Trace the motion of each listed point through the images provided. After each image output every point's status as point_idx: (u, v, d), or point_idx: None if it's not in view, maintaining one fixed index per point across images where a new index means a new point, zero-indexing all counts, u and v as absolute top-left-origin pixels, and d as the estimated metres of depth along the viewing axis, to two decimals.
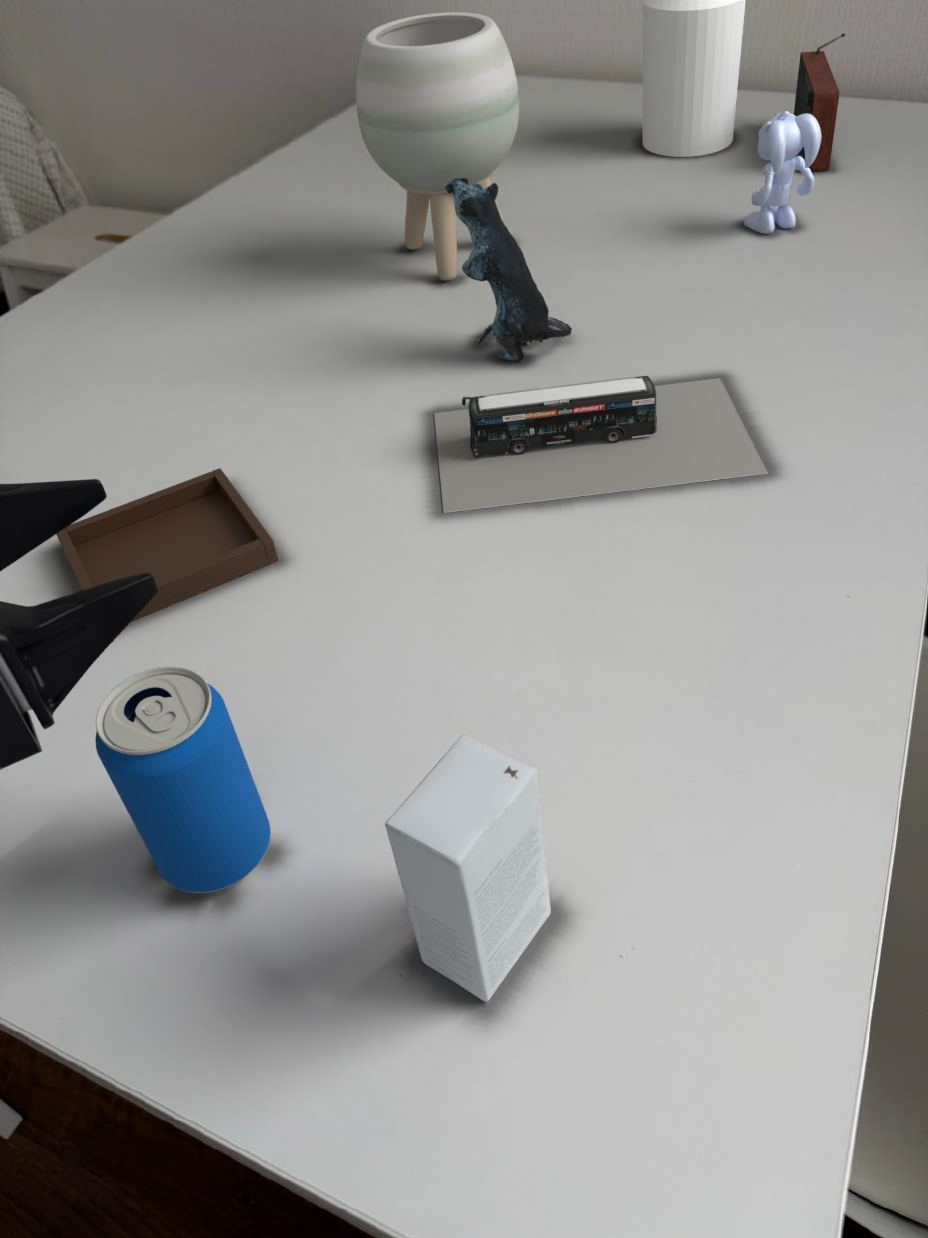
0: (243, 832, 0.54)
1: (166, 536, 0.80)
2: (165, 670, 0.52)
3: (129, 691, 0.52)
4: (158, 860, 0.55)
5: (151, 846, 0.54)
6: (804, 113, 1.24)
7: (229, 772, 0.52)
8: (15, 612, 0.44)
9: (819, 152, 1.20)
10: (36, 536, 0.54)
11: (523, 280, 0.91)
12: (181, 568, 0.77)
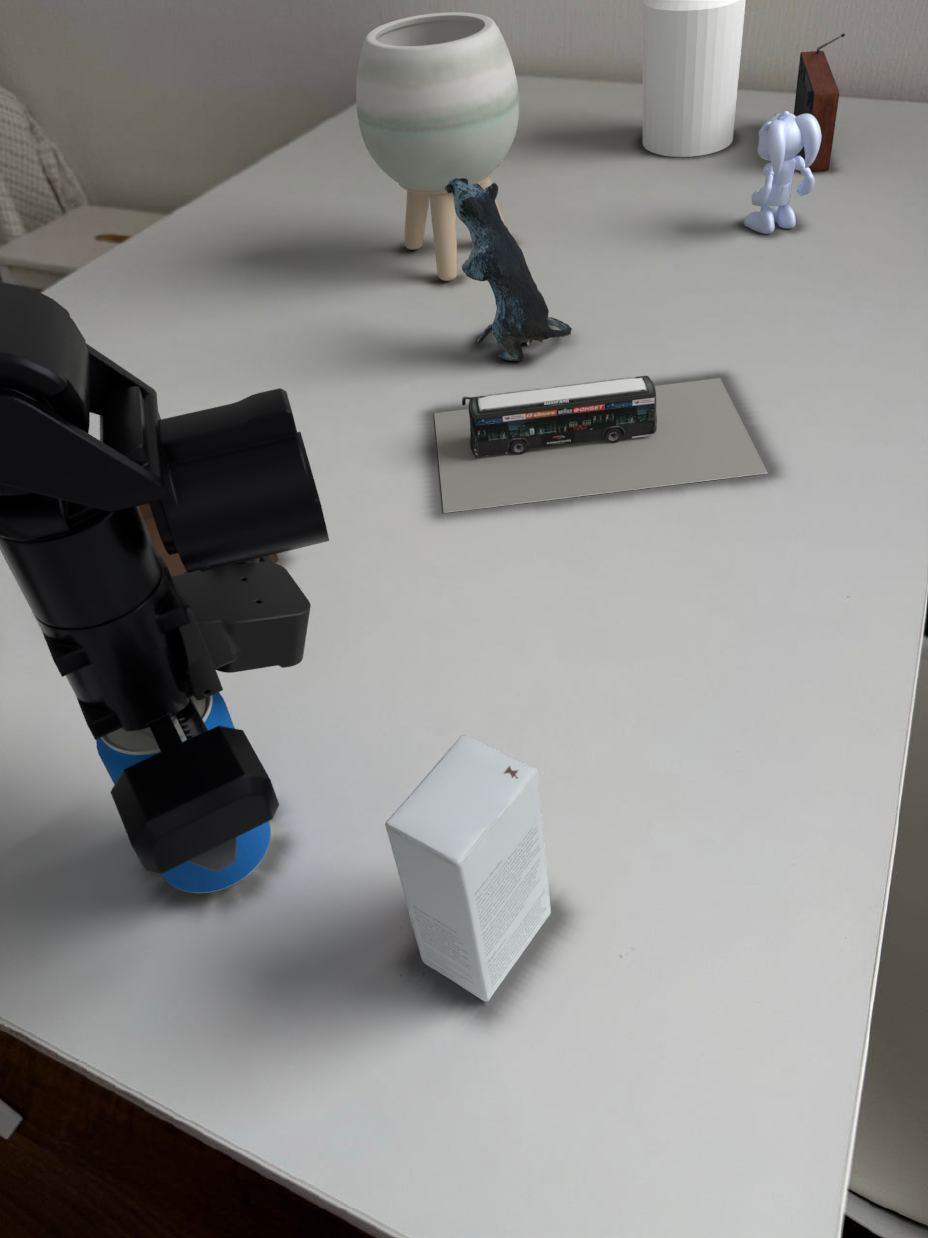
0: None
1: None
2: None
3: None
4: None
5: None
6: (804, 113, 1.24)
7: None
8: None
9: (819, 152, 1.20)
10: None
11: (523, 280, 0.91)
12: (181, 568, 0.77)
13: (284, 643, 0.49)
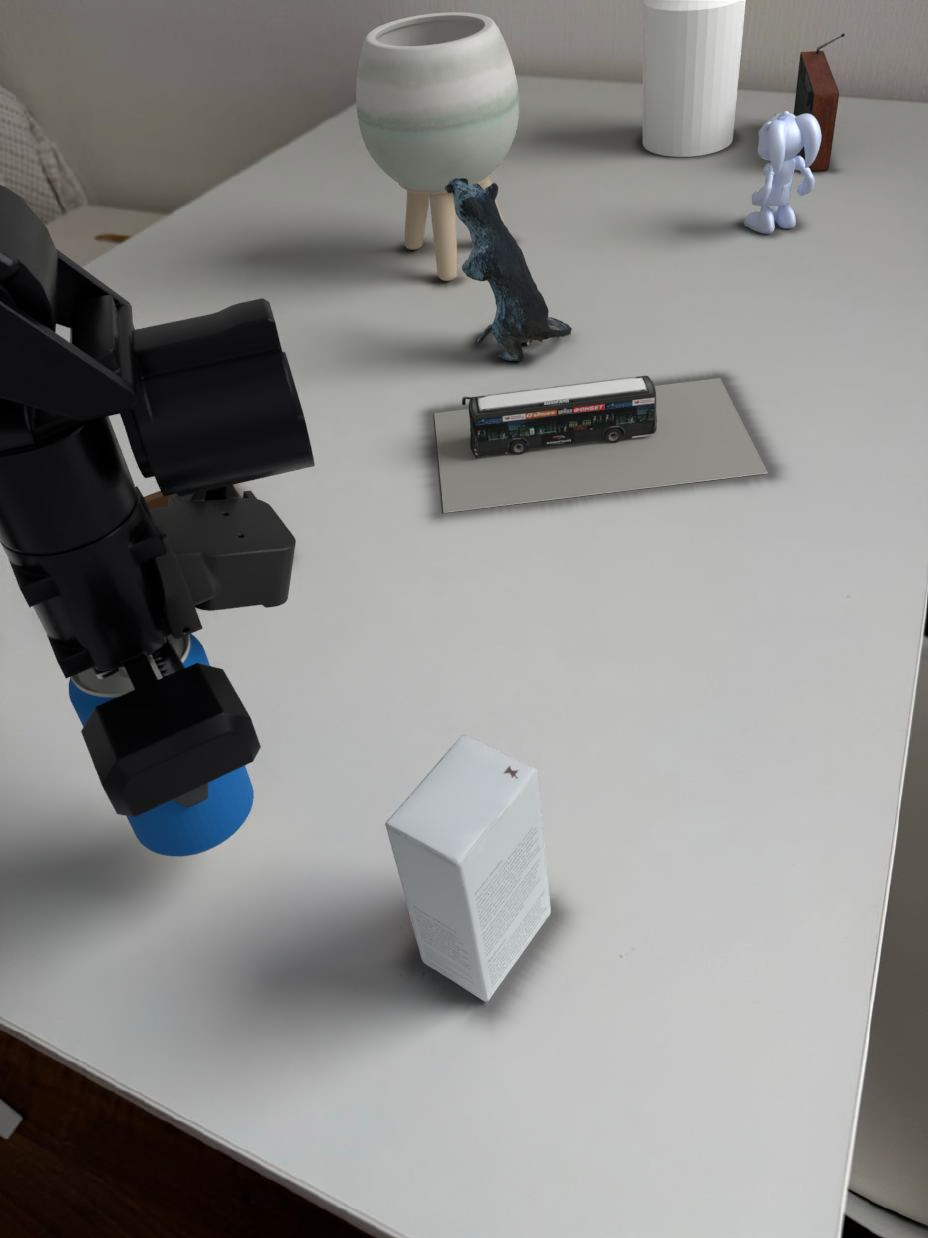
0: (223, 791, 0.52)
1: None
2: None
3: None
4: (134, 820, 0.52)
5: None
6: (804, 113, 1.24)
7: None
8: None
9: (819, 152, 1.20)
10: None
11: (523, 280, 0.91)
12: None
13: (268, 580, 0.46)
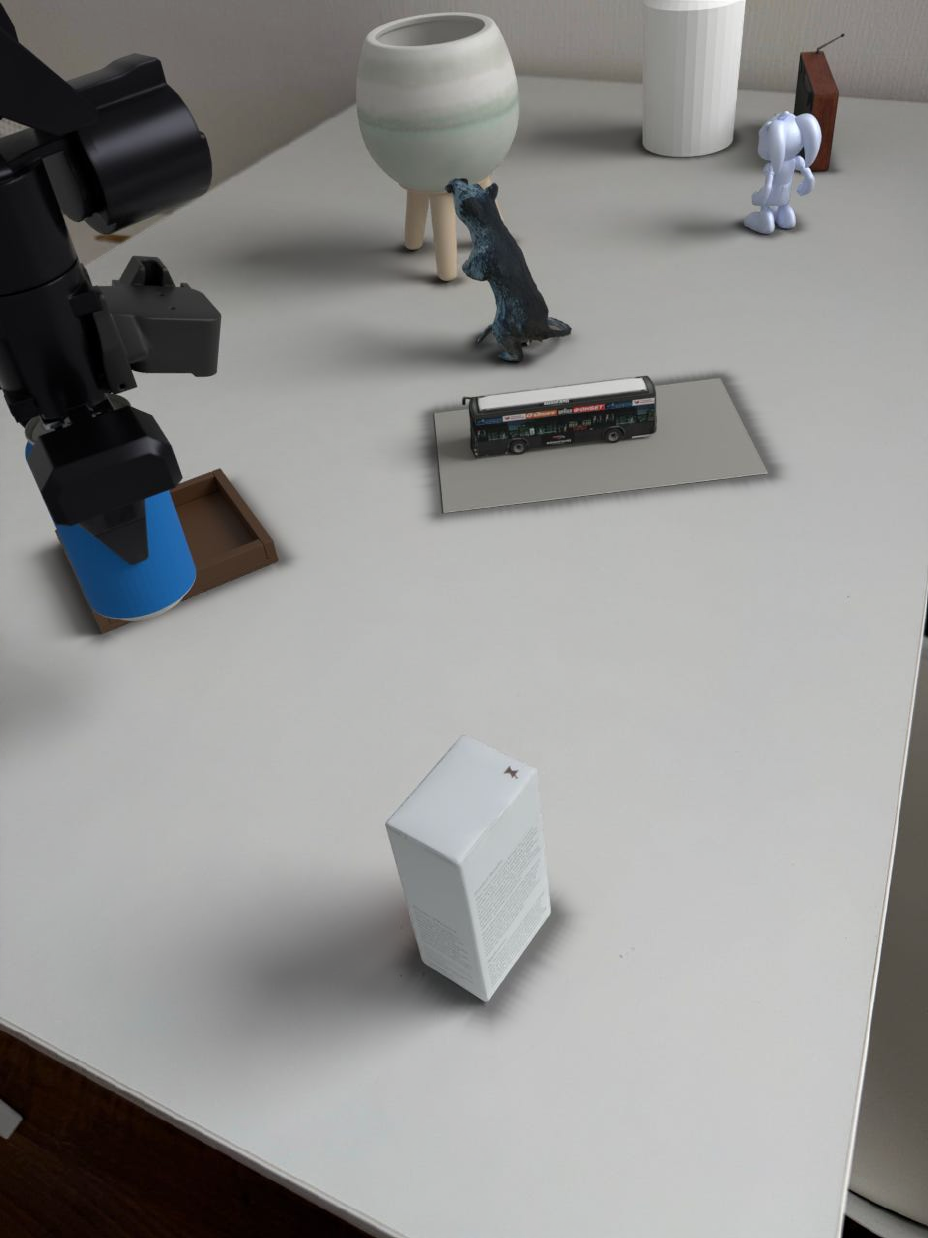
0: (164, 556, 0.58)
1: None
2: None
3: None
4: (86, 582, 0.59)
5: (78, 564, 0.58)
6: (804, 113, 1.24)
7: None
8: None
9: (819, 152, 1.20)
10: None
11: (522, 280, 0.91)
12: None
13: (196, 349, 0.53)
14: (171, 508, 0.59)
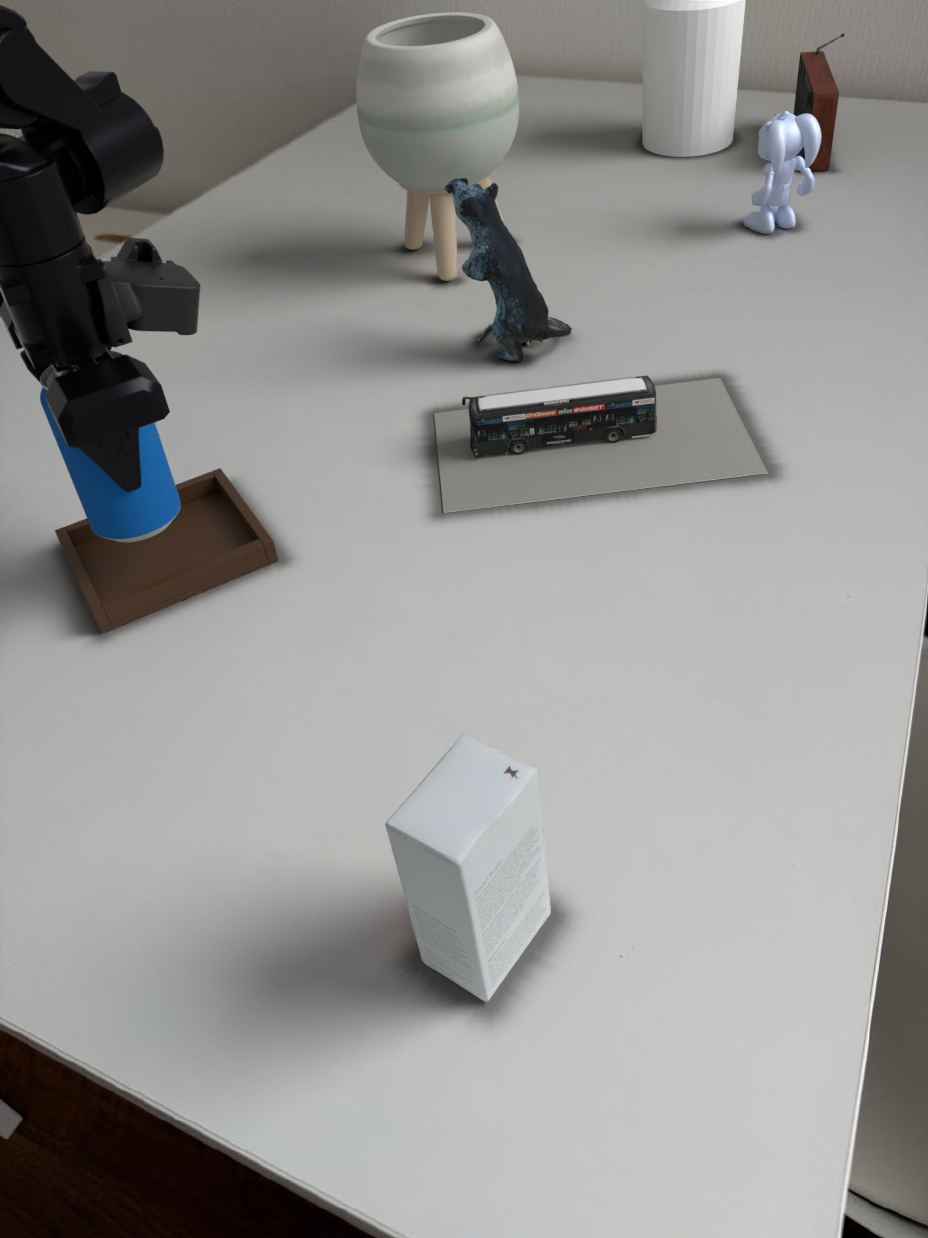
0: (155, 486, 0.71)
1: (166, 536, 0.80)
2: None
3: None
4: (89, 508, 0.71)
5: (83, 492, 0.70)
6: (804, 113, 1.24)
7: None
8: None
9: (819, 152, 1.20)
10: None
11: (522, 280, 0.91)
12: (181, 568, 0.77)
13: (180, 312, 0.65)
14: (160, 446, 0.71)
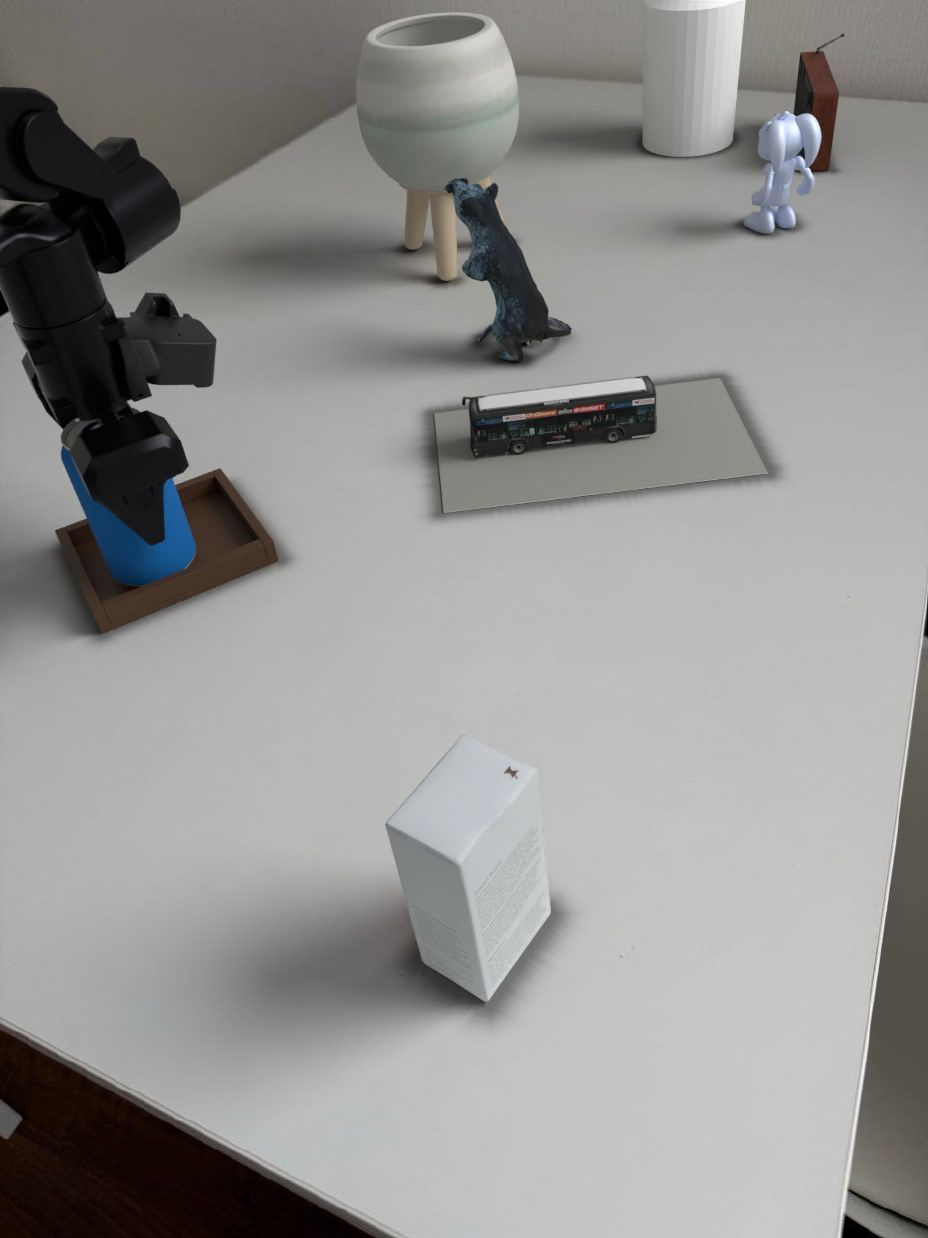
0: (172, 536, 0.73)
1: None
2: None
3: (86, 421, 0.71)
4: (109, 557, 0.74)
5: (103, 543, 0.73)
6: (804, 113, 1.24)
7: None
8: None
9: (819, 152, 1.20)
10: None
11: (522, 280, 0.91)
12: None
13: (197, 366, 0.68)
14: (176, 497, 0.73)
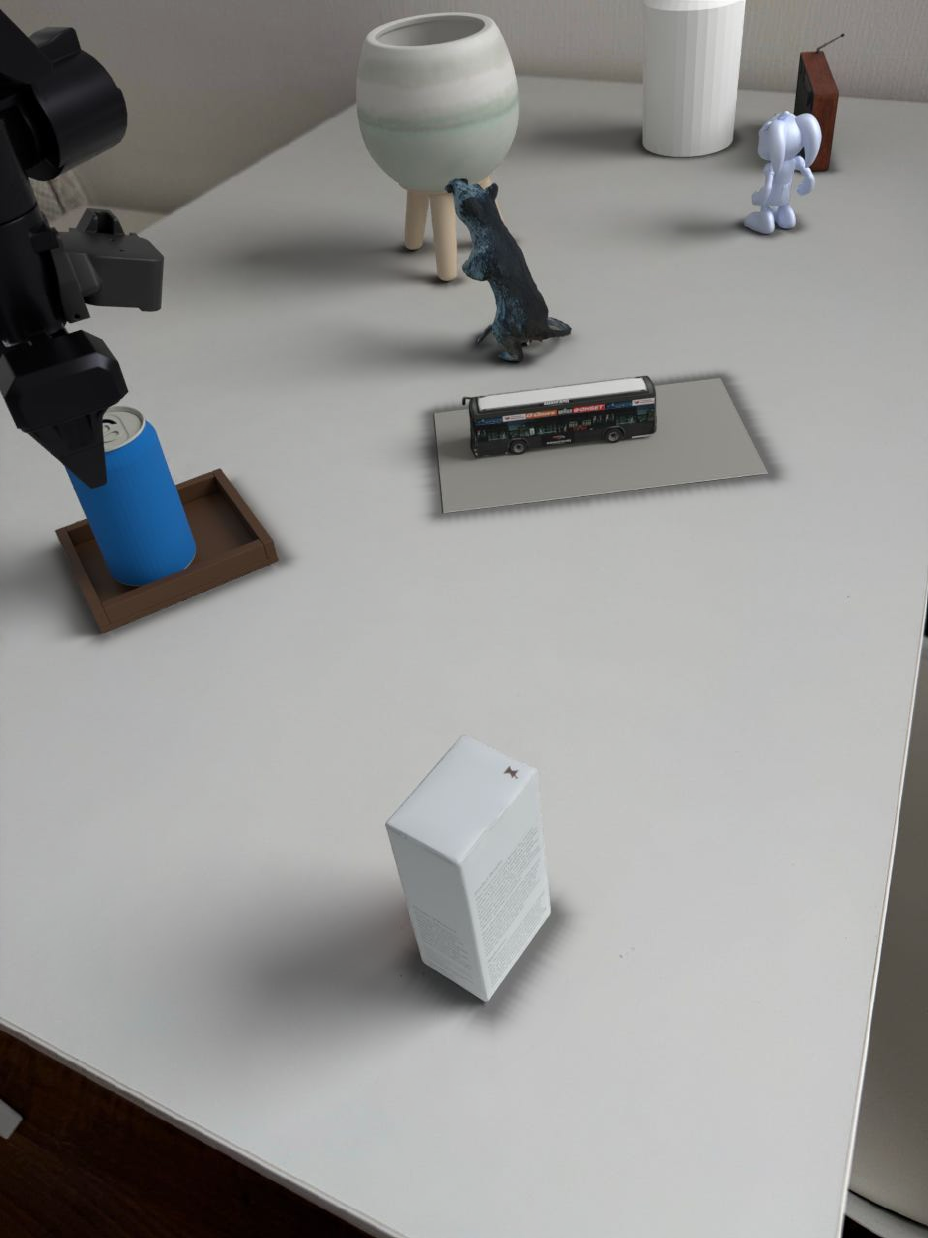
0: (172, 536, 0.73)
1: None
2: (113, 408, 0.71)
3: None
4: (109, 557, 0.74)
5: (103, 543, 0.73)
6: (804, 113, 1.24)
7: (159, 481, 0.71)
8: None
9: (819, 152, 1.20)
10: None
11: (522, 280, 0.91)
12: None
13: (142, 286, 0.61)
14: (176, 497, 0.73)
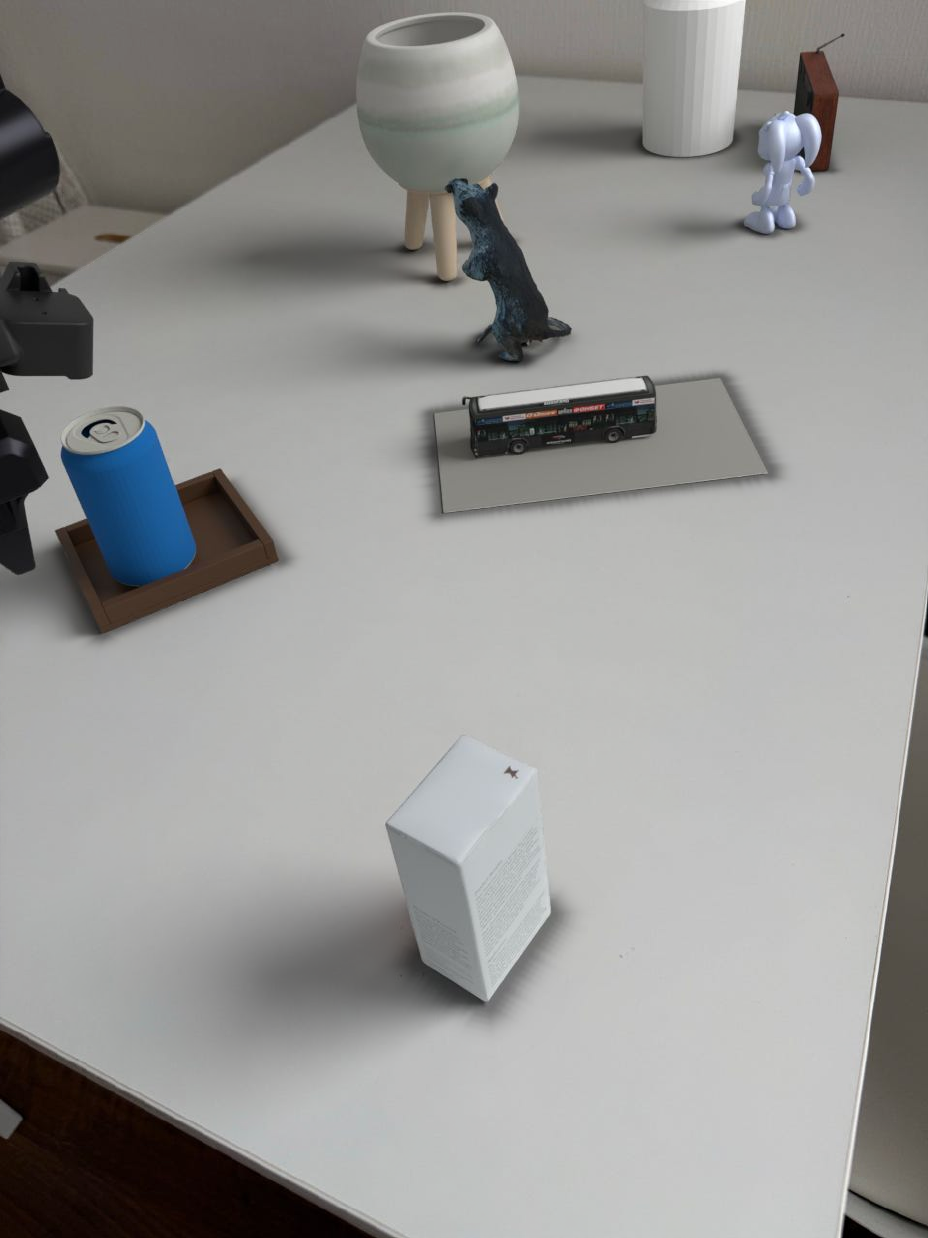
0: (171, 536, 0.73)
1: None
2: (113, 409, 0.71)
3: (86, 421, 0.71)
4: (109, 557, 0.74)
5: (103, 543, 0.73)
6: (804, 113, 1.24)
7: (159, 481, 0.71)
8: None
9: (819, 152, 1.20)
10: None
11: (522, 280, 0.91)
12: None
13: (68, 352, 0.54)
14: (176, 497, 0.73)
